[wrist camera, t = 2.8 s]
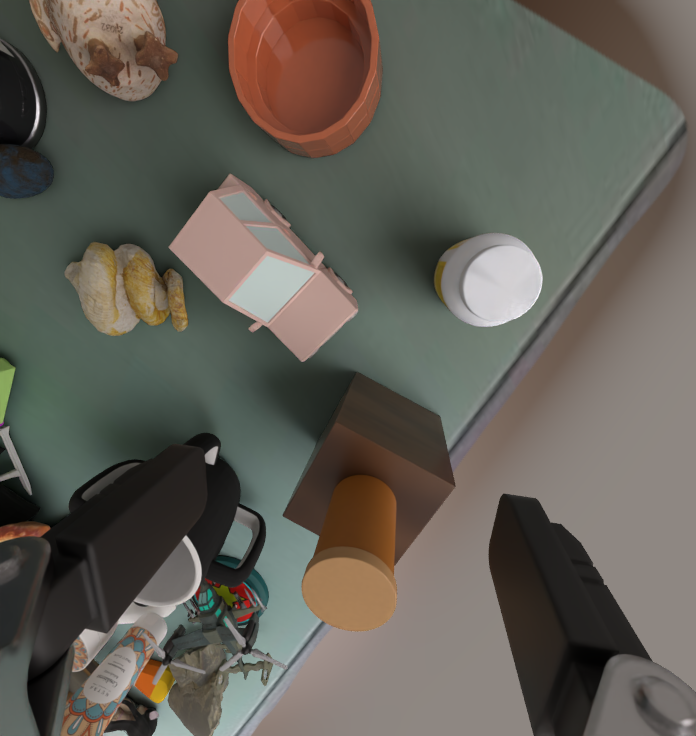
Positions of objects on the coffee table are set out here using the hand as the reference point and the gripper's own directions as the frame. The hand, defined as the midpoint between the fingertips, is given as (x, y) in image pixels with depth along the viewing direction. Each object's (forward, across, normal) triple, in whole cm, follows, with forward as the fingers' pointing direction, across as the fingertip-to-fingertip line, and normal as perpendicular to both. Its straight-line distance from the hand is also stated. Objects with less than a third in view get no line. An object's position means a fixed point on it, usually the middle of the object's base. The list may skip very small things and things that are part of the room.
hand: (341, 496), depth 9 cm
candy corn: (+25, +28, +61) cm, 72 cm away
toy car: (+27, +10, -4) cm, 29 cm away
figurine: (+21, +21, -18) cm, 34 cm away
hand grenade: (+24, +33, -12) cm, 43 cm away
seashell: (+27, +27, -1) cm, 38 cm away
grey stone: (+27, +23, +55) cm, 65 cm away
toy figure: (+27, +39, +68) cm, 83 cm away
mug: (+27, +20, +22) cm, 40 cm away
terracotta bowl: (+27, +8, -20) cm, 34 cm away
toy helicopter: (+27, +17, +41) cm, 52 cm away
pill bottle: (+27, -7, -5) cm, 28 cm away
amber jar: (+15, 0, +12) cm, 19 cm away
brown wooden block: (+27, 0, +12) cm, 30 cm away
